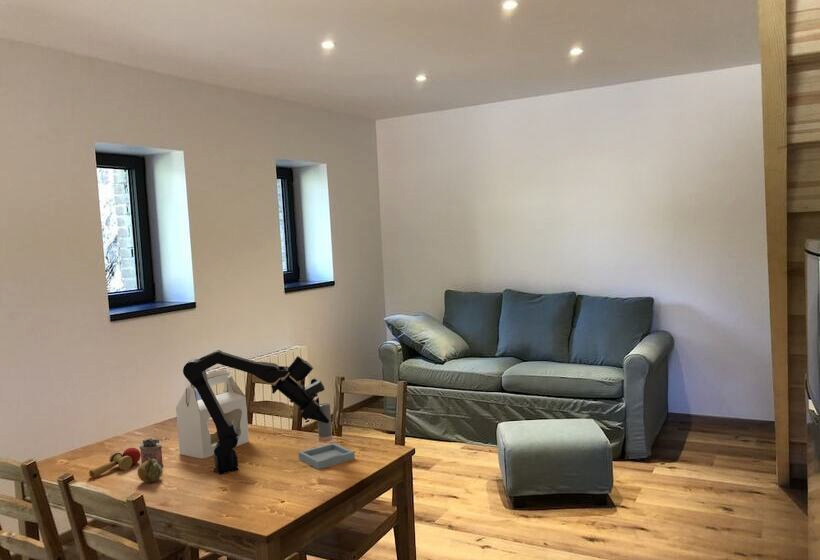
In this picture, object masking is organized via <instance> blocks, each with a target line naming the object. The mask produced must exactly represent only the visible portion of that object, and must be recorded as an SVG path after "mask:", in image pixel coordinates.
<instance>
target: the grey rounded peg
mask: <svg viewBox="0 0 820 560" xmlns="http://www.w3.org/2000/svg"><path fill="white" fill-rule="evenodd" d="M319 407H320V410H321V411H322V413H323V414H324V415H325V416H326V417H327V418H328V420H329V422H328V423H324V422H320V421H317V430H318V431H317V432H318V435H317V437H318V441H319V442H321V443H324V442H325V443H327V442H331V441H332V440H333V432H332V428H333V427H332V416H331V404H330V403H327V402H326V403H319Z"/></svg>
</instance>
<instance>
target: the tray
mask: <svg viewBox="0 0 820 560" xmlns="http://www.w3.org/2000/svg"><path fill="white" fill-rule="evenodd" d="M355 455H356V454H355V451H353V450H351V449H348V448H346V447H344V446H343V445H340V444H337V443H335V442H333V443H332V442H331V443H328V444H324V445H321V446H316V447H313V448H309V449H306V450H305V449H304V450H302V451H301V450H300V451H298V460H300V461H302V462H304V463H306V464H307V465H309V466H311V467H313V468H315V469H317V470H321V469H325V468H328V467H332V466H335V465H338V464H342V463H345V462H349V461H350V462H351V461H352V460H355Z"/></svg>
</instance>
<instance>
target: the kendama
mask: <svg viewBox="0 0 820 560" xmlns="http://www.w3.org/2000/svg"><path fill="white" fill-rule="evenodd" d="M139 461H141V451H140V450H139V448H136V447H128V448H126V449H125V450H124V451H123V452H122V453H121V452H119V451H116V452H113V453H112V454H110V457H109V462H108V463H104V464H102V465H99V466H98V467H95V468H92V469H90V470H89V472H88V473H89V477H91V479H96V478H97V477H99V476H101V475H103V474H104V473H106V472H108V471H109V470H111V469H113V468H114V467H116V466H118V468H119V469H120V470H122V471H127V470H129V469H130V468H131V467H132V466H133V465H136V464H138V463H139Z"/></svg>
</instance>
